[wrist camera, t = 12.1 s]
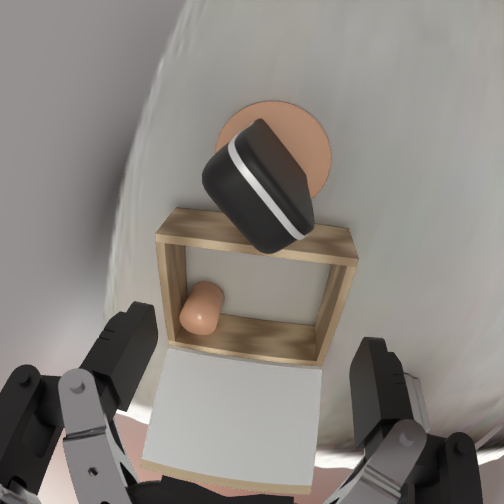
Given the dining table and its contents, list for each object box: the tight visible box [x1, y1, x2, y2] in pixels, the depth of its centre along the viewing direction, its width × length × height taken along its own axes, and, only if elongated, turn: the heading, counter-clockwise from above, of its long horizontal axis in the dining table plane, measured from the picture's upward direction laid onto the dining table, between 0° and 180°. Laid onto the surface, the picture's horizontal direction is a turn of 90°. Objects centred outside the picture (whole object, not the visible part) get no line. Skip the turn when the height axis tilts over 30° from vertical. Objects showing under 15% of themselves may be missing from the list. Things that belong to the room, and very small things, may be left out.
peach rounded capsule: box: [179, 281, 224, 335], centre depth 33 cm, size 4×4×4 cm
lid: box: [140, 348, 322, 494], centre depth 28 cm, size 17×14×1 cm
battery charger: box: [202, 118, 314, 254], centre depth 21 cm, size 7×4×11 cm, turn 38°
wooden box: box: [155, 208, 359, 366], centre depth 31 cm, size 17×14×6 cm
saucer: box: [215, 101, 331, 199], centre depth 26 cm, size 10×10×1 cm
